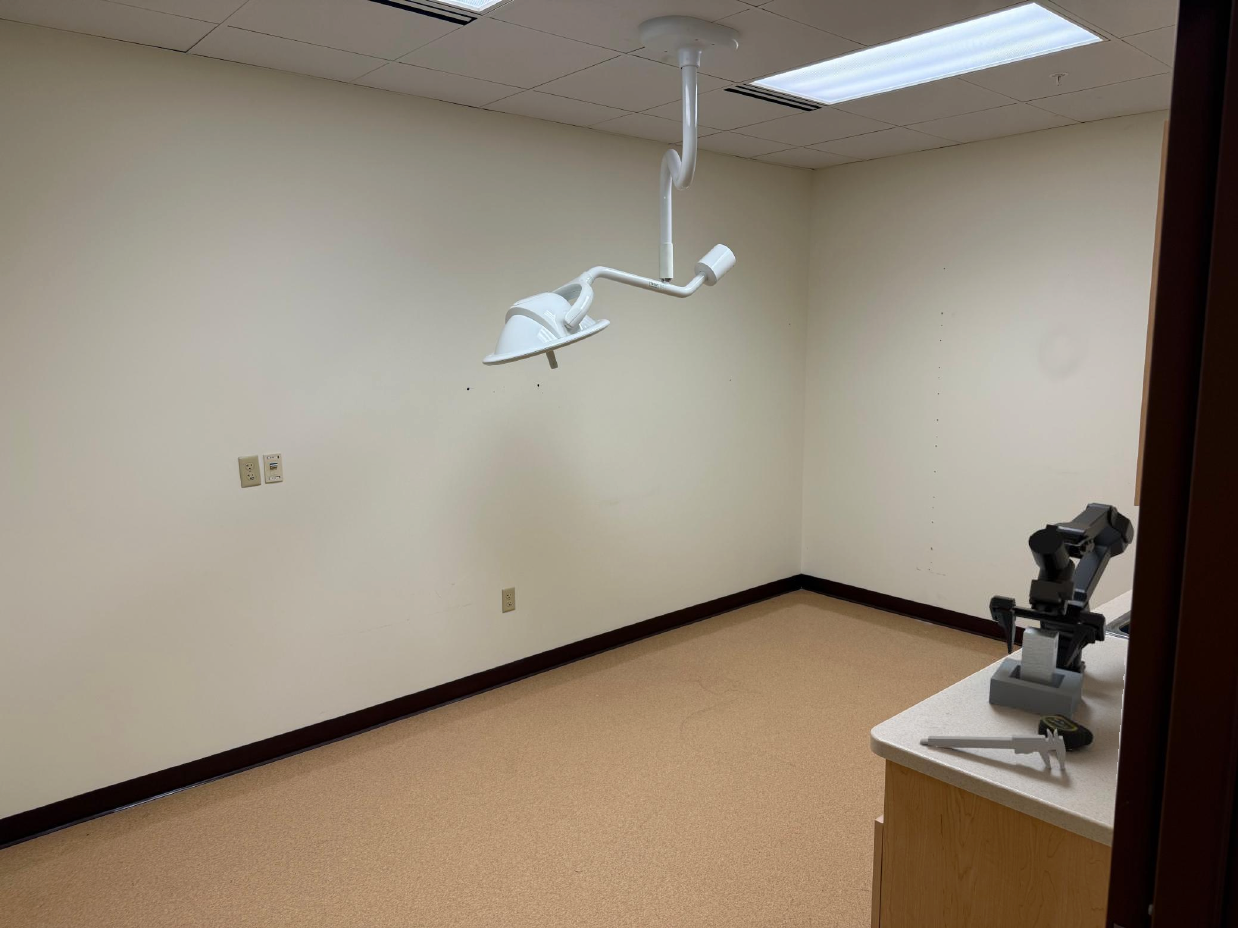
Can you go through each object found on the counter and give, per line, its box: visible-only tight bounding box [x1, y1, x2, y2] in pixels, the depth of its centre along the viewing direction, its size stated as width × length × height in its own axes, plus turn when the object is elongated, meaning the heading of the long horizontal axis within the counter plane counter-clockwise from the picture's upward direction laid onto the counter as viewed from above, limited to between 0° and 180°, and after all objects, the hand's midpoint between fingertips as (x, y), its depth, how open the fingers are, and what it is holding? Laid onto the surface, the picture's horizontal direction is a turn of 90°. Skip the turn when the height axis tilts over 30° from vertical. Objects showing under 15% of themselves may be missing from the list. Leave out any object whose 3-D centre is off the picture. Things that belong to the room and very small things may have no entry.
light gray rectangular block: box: [1020, 625, 1059, 687], centre depth 151 cm, size 4×5×12 cm
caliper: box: [919, 729, 1067, 771], centre depth 132 cm, size 21×1×6 cm, turn 66°
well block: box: [988, 657, 1084, 720], centre depth 152 cm, size 12×13×4 cm
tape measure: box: [1037, 714, 1094, 751], centre depth 136 cm, size 7×7×4 cm
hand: (1037, 659), depth 150 cm, fingers open, 9 cm apart
